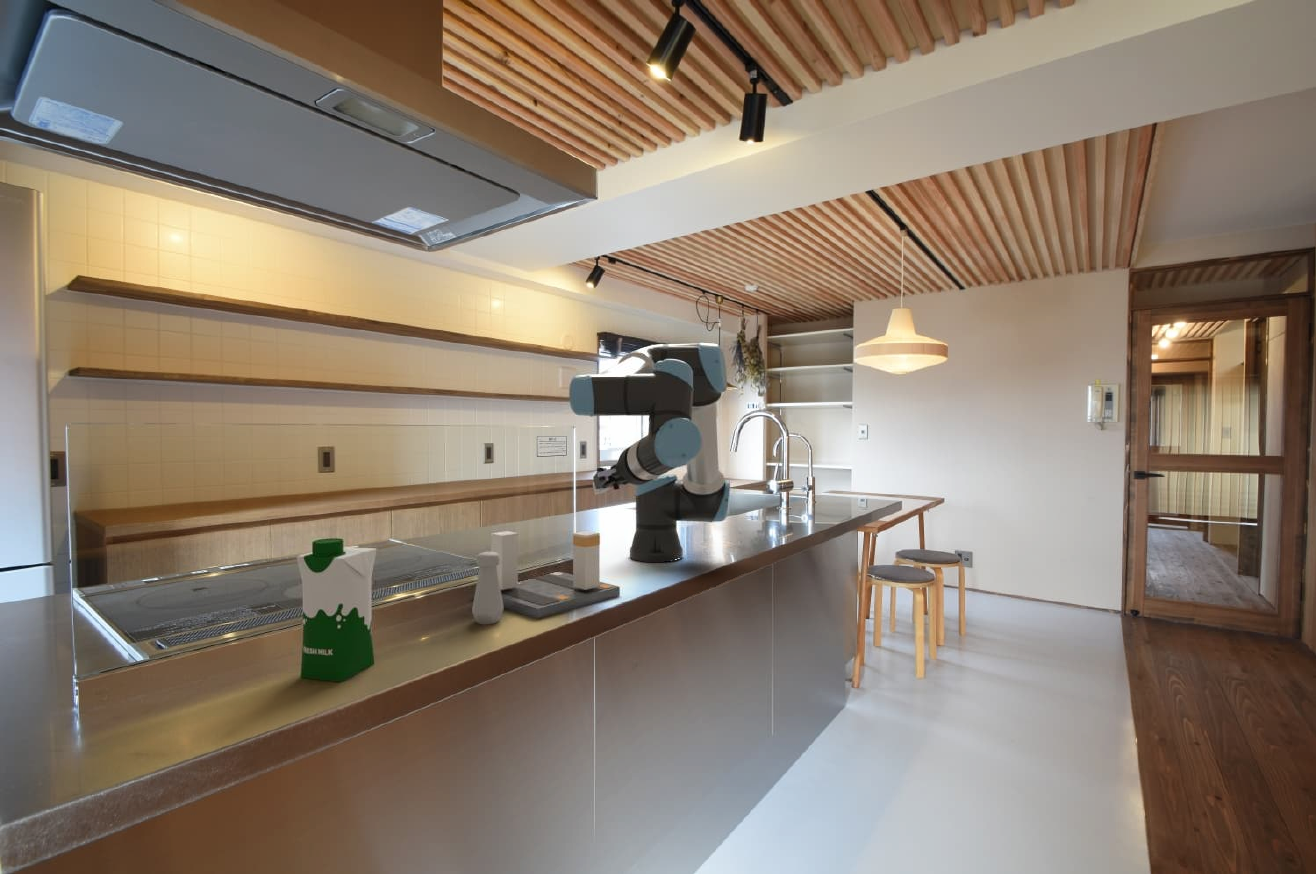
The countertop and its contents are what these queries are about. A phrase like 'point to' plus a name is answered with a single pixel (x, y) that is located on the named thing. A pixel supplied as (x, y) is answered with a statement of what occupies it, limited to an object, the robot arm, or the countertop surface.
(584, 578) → the handle
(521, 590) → the panel
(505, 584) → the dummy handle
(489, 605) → the salt shaker
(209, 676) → the countertop surface
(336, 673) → the milk carton
